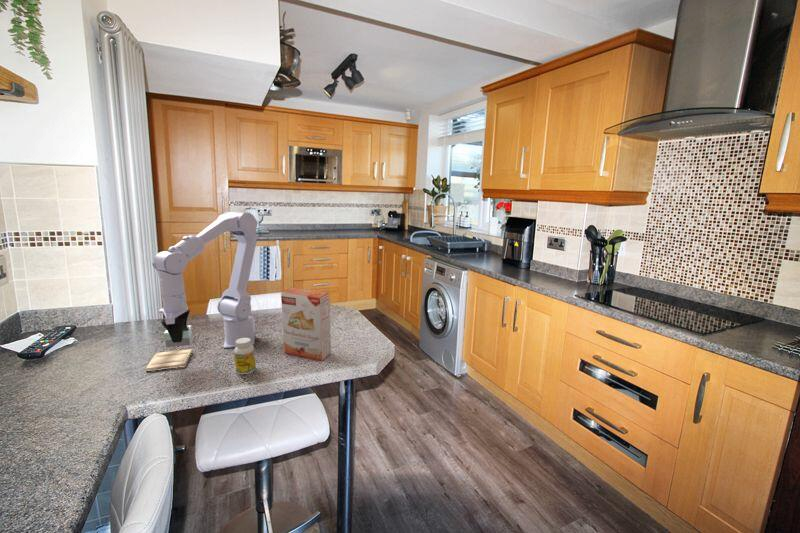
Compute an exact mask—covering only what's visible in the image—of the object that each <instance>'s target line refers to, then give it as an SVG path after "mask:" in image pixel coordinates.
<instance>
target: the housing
mask: <svg viewBox="0 0 800 533" xmlns="http://www.w3.org/2000/svg"><path fill="white" fill-rule="evenodd" d="M164 341H165V348H174V347H183V346H190V345H191V343H192V341H193V331H192V325H191V324H190V325H186V326H183V334H182V341H181V342H177V343H173V341H172V339H171V337H170V335H169V333H168V331H167V329H166V330H165V331H164Z"/></svg>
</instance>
